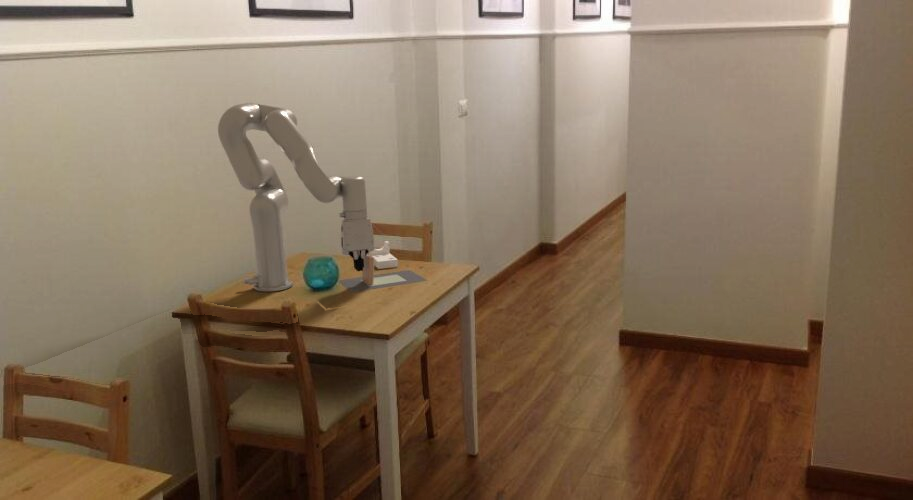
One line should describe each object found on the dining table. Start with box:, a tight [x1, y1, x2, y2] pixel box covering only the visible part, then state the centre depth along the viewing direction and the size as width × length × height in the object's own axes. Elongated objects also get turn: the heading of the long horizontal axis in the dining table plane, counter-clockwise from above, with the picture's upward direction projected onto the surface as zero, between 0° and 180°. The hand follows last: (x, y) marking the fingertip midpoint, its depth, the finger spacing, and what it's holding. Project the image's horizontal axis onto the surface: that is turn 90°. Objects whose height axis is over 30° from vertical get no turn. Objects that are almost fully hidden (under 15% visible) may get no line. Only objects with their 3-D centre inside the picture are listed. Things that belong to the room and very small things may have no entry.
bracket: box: [368, 240, 399, 270], centre depth 295 cm, size 13×7×8 cm, turn 20°
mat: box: [337, 269, 428, 293], centre depth 274 cm, size 26×16×1 cm, turn 115°
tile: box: [361, 253, 375, 285], centre depth 271 cm, size 2×6×9 cm, turn 25°
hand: (359, 270), depth 270 cm, fingers closed
